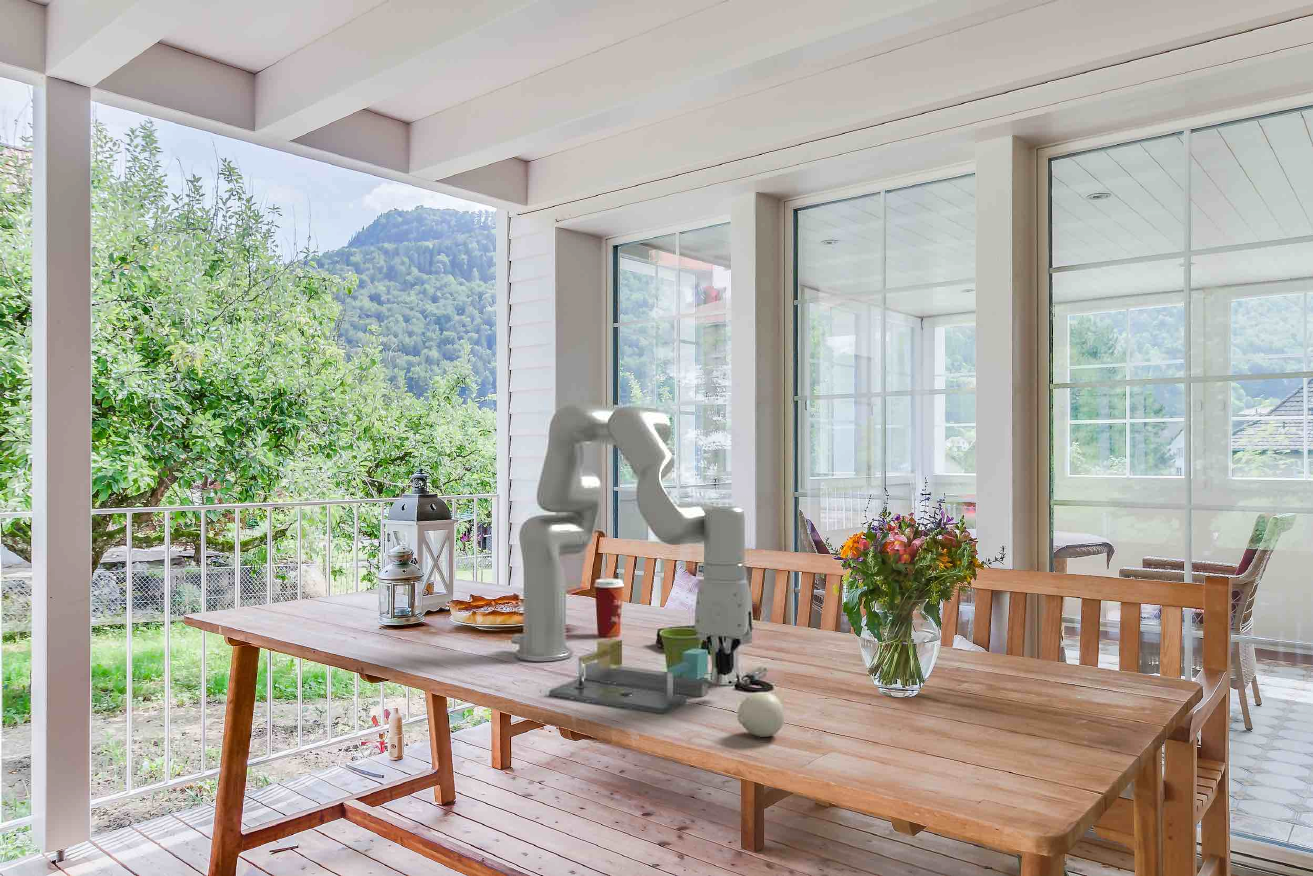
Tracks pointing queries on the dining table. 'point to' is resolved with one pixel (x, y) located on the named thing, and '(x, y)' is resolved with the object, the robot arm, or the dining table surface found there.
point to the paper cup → (608, 606)
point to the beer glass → (722, 679)
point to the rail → (646, 679)
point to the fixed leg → (602, 657)
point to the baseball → (761, 714)
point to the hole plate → (619, 696)
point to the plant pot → (678, 644)
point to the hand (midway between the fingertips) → (724, 673)
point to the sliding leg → (688, 668)
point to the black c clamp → (754, 681)
